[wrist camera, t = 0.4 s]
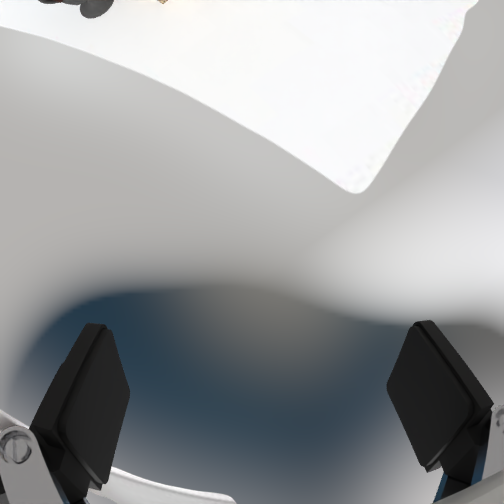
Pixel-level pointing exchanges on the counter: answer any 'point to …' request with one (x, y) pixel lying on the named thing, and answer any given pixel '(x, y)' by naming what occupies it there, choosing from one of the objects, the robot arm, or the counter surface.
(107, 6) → the sundae
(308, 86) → the counter surface
